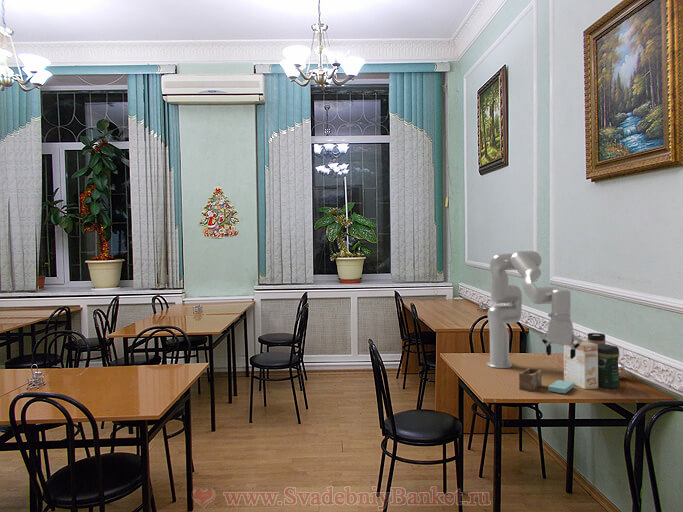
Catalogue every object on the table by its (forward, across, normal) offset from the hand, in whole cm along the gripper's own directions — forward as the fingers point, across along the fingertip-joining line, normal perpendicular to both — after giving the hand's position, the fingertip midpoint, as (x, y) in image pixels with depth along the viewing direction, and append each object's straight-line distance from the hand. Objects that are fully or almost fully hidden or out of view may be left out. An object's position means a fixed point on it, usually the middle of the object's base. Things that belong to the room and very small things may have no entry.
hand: (560, 356), depth 217 cm
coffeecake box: (+15, +5, +14) cm, 21 cm away
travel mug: (+15, +7, +34) cm, 37 cm away
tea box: (+15, -11, -4) cm, 19 cm away
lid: (+14, +1, 0) cm, 14 cm away
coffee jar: (+15, +15, +18) cm, 27 cm away
